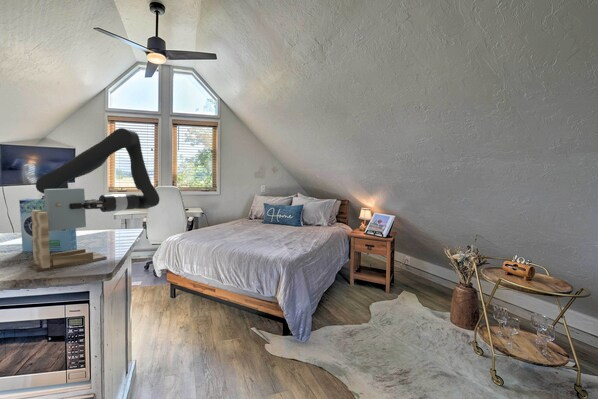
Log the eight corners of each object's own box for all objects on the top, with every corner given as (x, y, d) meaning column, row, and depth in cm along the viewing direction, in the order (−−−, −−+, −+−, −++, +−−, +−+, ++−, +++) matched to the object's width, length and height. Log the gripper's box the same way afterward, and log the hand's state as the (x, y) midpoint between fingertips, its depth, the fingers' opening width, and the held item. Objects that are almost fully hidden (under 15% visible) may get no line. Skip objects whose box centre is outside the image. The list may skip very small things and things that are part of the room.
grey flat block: (46, 229, 118) (44, 189, 116) (82, 225, 127) (80, 188, 126) (51, 231, 115) (48, 189, 113) (87, 227, 124) (85, 188, 123)
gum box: (77, 249, 137) (75, 199, 135) (70, 252, 132) (68, 200, 130) (30, 249, 135) (27, 198, 133) (21, 252, 130) (18, 199, 128)
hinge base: (29, 265, 113) (26, 210, 111) (95, 254, 131) (94, 206, 129) (38, 272, 106) (35, 213, 105) (106, 258, 124) (105, 208, 122)
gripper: (105, 193, 139) (60, 195, 125) (120, 195, 131) (74, 198, 117) (106, 209, 139) (61, 213, 125) (121, 212, 131) (75, 217, 117)
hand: (67, 206), depth 121 cm, fingers closed on grey flat block, 4 cm apart
